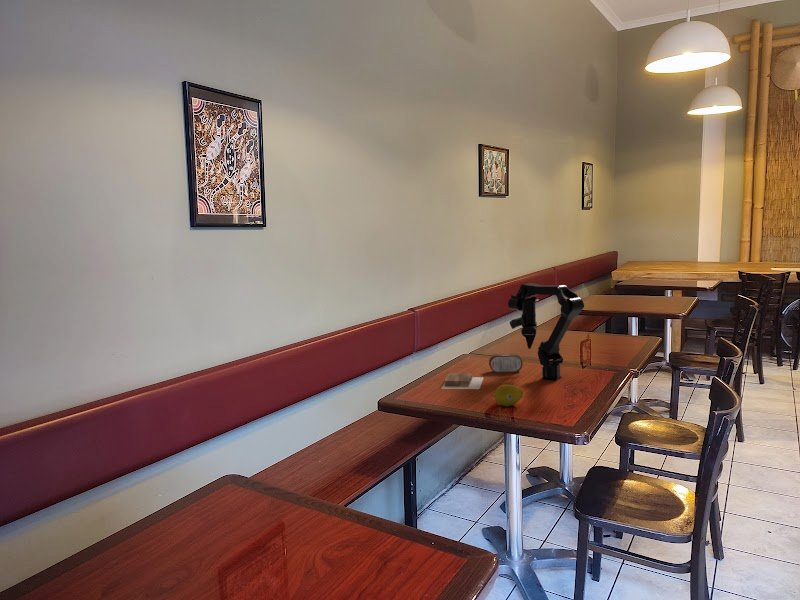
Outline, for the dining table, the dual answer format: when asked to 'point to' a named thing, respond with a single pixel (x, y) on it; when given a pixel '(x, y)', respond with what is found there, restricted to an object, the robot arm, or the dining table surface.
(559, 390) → the dining table surface
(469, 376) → the board
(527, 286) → the robot arm
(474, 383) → the mat
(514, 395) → the lemon
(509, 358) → the tin
